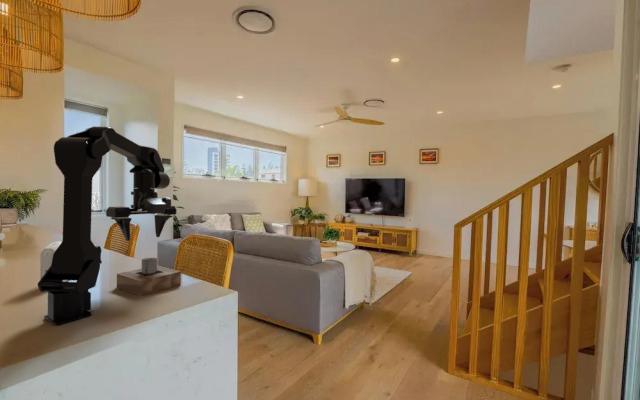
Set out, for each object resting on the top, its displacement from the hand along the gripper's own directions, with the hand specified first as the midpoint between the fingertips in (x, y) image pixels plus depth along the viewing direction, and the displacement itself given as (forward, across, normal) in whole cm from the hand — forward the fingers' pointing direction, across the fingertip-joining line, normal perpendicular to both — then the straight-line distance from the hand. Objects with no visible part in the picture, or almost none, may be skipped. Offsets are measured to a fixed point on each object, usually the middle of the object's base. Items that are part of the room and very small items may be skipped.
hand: (143, 238), depth 94 cm
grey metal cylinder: (+13, -2, -7) cm, 15 cm away
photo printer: (+13, -16, +16) cm, 26 cm away
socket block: (+13, -2, -7) cm, 15 cm away
